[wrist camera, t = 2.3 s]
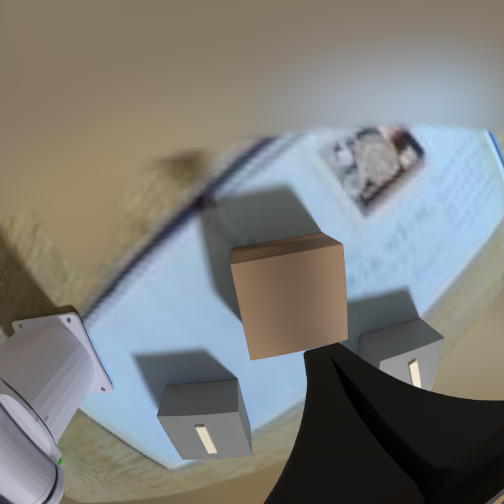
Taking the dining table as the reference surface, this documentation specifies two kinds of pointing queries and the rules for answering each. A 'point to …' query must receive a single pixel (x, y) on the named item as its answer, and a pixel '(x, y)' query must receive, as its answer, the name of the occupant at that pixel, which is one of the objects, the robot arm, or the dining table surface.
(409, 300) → the dining table surface
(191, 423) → the slate block
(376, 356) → the slate block
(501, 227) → the dining table surface
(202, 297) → the dining table surface
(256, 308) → the walnut block
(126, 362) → the dining table surface
